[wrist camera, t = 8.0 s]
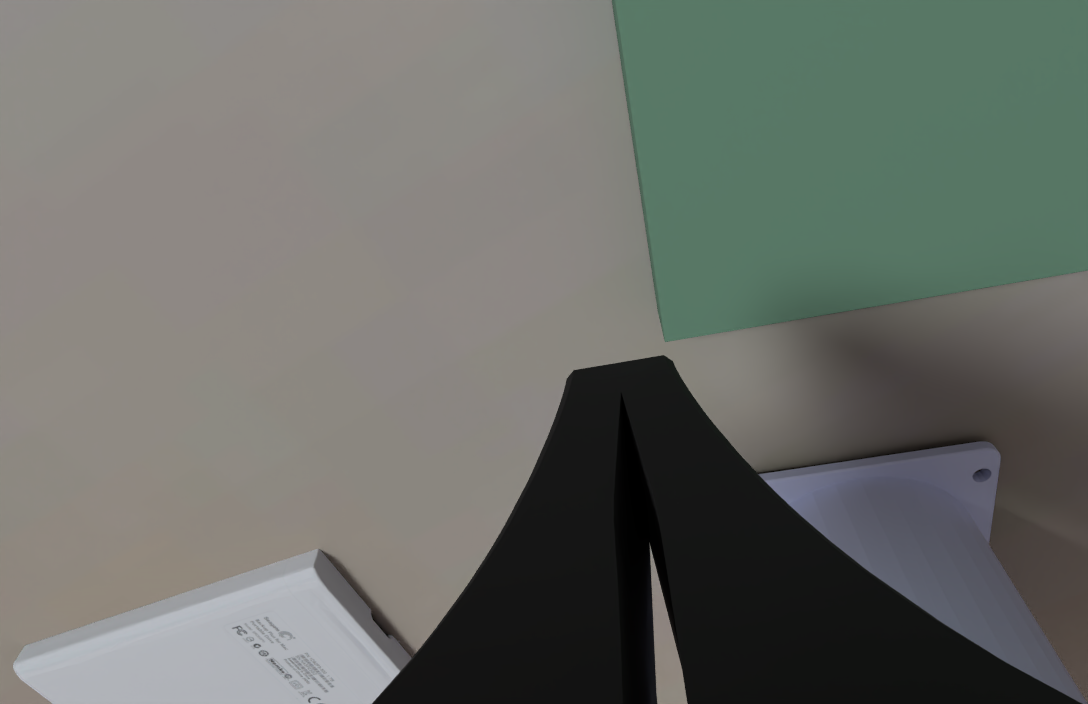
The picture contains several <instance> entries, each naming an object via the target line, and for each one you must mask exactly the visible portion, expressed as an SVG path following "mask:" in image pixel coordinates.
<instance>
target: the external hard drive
mask: <svg viewBox="0 0 1088 704" xmlns="http://www.w3.org/2000/svg"><path fill="white" fill-rule="evenodd" d="M411 659H412V658H411V657H410V655H409V654H408V653H407V652H406V651H405V650H404V648H403V647H402V646H401V645H400V644H399V642H398V641H397V640H396V639H395V638H394V637H393V636H392V635H387V634H385V633H384V632H383V631H382V629H380V627H379V625H377V624H376V623H375V622H374V621H373V619H372V616H371V609H370V608H369V607H368V606H367V605H366V603H365V602H364V601H363V600H362V599H361V597H360V596H359V595H358V594H357V593H356V592H355V590H354V589H353V588H352V587H351V586H350V584H349V583H348V582H347V581H346V580H345V578H344V577H343V576H342V575H341V574H340V573H339V571H338V570H337V569H336V568H335V567H334V565H333V564H332V563H331V562H330V561H329V559H328V558H327V557H326V556H325V555H324V554H323V552H322V551H321V550H320V549H315V550H313V551H310V552H306V553H303V554H300V555H297V556H294V557H291V558H289V559H285V560H282V561H279V562H276V563H273V564H270V565H267V566H264V567H261V568H258V569H254V570H251V571H248V572H245V573H242V574H239V575H236V576H233V577H230V578H227V579H224V580H221V581H218V582H215V583H212V584H209V585H206V586H203V587H200V588H197V589H194V590H191V591H188V592H184V593H181V594H178V595H176V596H173V597H169V598H166V599H163V600H160V601H157V602H154V603H151V604H148V605H145V606H142V607H139V608H136V609H133V610H130V611H127V612H124V613H121V614H118V615H115V616H112V617H109V618H106V619H103V620H100V621H97V622H94V623H91V624H88V625H85V626H82V627H79V628H76V629H73V630H70V631H67V632H64V633H61V634H58V635H55V636H52V637H49V638H46V639H43V640H40V641H37V642H34V643H31V644H27V645H25V646H24V648H23V649H22V651H21V653H20V654H19V656H18V657H17V659H16V660H15V662H14V663H13V669H14V670H15V672H16V674H17V675H18V677H19V678H20V679H21V680H22V681H24V682H25V683H26V684H27V685H29V686H30V687H31V688H33V689H34V690H35V691H37V692H38V693H39V694H41V695H42V696H43V697H44V698H46V699H47V700H49V701H50V702H51V703H53V704H372V703H373V702H374V701H375V700H376V698H377V697H378V696H379V695H380V694H381V693H382V692H383V691H384V689H385V688H386V687H387V686H388V685H389V684H390V683H391V681H392V680H393V679H394V678H395V677H396V676H397V675H398V674H399V672H400V671H401V670H402V669H403V668H404V667H405V666H406V664H407V663H408V662H409V661H410V660H411Z"/></svg>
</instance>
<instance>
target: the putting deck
mask: <svg viewBox="0 0 1088 704" xmlns="http://www.w3.org/2000/svg"><path fill="white" fill-rule="evenodd" d="M612 5H613V12H614V18H615V25H616V32H617V39H618V45H619V52H620V59H621V66H622V72H623V79H624V86H625V93H626V99H627V106H628V113H629V120H630V126H631V133H632V140H633V147H634V153H635V160H636V167H637V174H638V180H639V187H640V194H641V201H642V207H643V214H644V221H645V228H646V234H647V241H648V248H649V255H650V261H651V268H652V275H653V282H654V288H655V295H656V302H657V309H658V314H659V318H660V323H661V327H662V331H663V336H664V340H665V342H668V341H674V340H680V339H686V338H692V337H698V336H704V335H709V334H715V333H721V332H727V331H733V330H739V329H745V328H751V327H757V326H763V325H768V324H774V323H780V322H786V321H792V320H798V319H804V318H810V317H816V316H821V315H827V314H833V313H839V312H845V311H851V310H857V309H863V308H869V307H875V306H880V305H886V304H892V303H898V302H904V301H910V300H916V299H922V298H928V297H934V296H939V295H945V294H951V293H957V292H963V291H969V290H975V289H981V288H987V287H993V286H998V285H1004V284H1010V283H1016V282H1022V281H1028V280H1034V279H1040V278H1046V277H1052V276H1057V275H1063V274H1069V273H1075V272H1081V271H1087V270H1088V0H612Z"/></svg>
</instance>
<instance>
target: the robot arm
mask: <svg viewBox="0 0 1088 704" xmlns="http://www.w3.org/2000/svg"><path fill="white" fill-rule="evenodd" d="M1000 462H1001V456H1000V453H999V452H998V450H997V449H996V447H995V446H994V445H993V444H992V443H989V442H987V441H980V442H973V443H966V444H959V445H953V446H946V447H939V448H932V449H926V450H919V451H912V452H905V453H899V454H892V455H885V456H879V457H872V458H865V459H858V460H852V461H845V462H838V463H831V464H825V465H818V466H811V467H805V468H798V469H791V470H784V471H778V472H771V473H764V474H757V473H756V471H755V470H754V469H753V468H752V467H751V466H750V465H749V464H748V463H747V462H746V461H745V460H744V459H743V458H742V456H741V455H740V454H739V453H738V452H737V451H736V450H735V449H734V447H733V446H732V445H731V444H730V443H729V441H728V440H727V439H726V438H725V437H724V436H723V434H722V433H721V432H720V431H719V430H718V428H717V427H716V426H715V425H714V424H713V422H712V421H711V420H710V419H709V417H708V416H707V415H706V413H705V412H704V411H703V409H702V408H701V407H700V405H699V404H698V403H697V401H696V400H695V398H694V397H693V396H692V394H691V393H690V391H689V390H688V388H687V387H686V385H685V383H684V382H683V380H682V379H681V377H680V375H679V373H678V371H677V370H676V368H675V365H674V363H673V361H671V360H670V359H668V358H667V357H665V356H664V355H662V356H656V357H650V358H644V359H638V360H632V361H627V362H621V363H615V364H609V365H603V366H597V367H591V368H585V369H579V370H574V371H573V372H572V373H571V374H570V376H569V377H568V378H567V381H566V385H565V389H564V393H563V396H562V399H561V402H560V405H559V408H558V411H557V414H556V417H555V419H554V422H553V425H552V427H551V430H550V433H549V435H548V438H547V440H546V442H545V444H544V447H543V449H542V451H541V453H540V456H539V458H538V460H537V463H536V465H535V467H534V469H533V472H532V474H531V476H530V478H529V480H528V482H527V484H526V486H525V488H524V490H523V492H522V494H521V496H520V497H519V499H518V501H517V503H516V505H515V507H514V509H513V511H512V513H511V515H510V516H509V518H508V520H507V522H506V524H505V526H504V528H503V529H502V531H501V533H500V534H499V536H498V538H497V539H496V541H495V543H494V545H493V546H492V548H491V549H490V551H489V553H488V554H487V556H486V558H485V559H484V561H483V562H482V564H481V565H480V567H479V568H478V570H477V571H476V573H475V574H474V576H473V577H472V579H471V580H470V582H469V583H468V585H467V586H466V588H465V589H464V591H463V592H462V593H461V595H460V596H459V598H458V599H457V600H456V602H455V603H454V604H453V606H452V607H451V608H450V610H449V611H448V613H447V614H446V615H445V617H444V618H443V619H442V621H441V622H440V623H439V625H438V626H437V628H436V629H435V630H434V631H433V633H432V634H431V635H430V637H429V638H428V639H427V640H426V642H425V643H424V644H423V645H422V647H421V648H420V649H419V650H418V652H417V653H416V654H415V655H414V656H413V658H412V659H411V660H410V661H409V662H408V663H407V664H406V666H405V667H404V668H403V669H402V670H401V671H400V672H399V674H398V675H397V676H396V677H395V678H394V679H393V680H392V681H391V683H390V684H389V685H388V686H387V687H386V688H385V689H384V691H383V692H382V693H381V694H380V695H379V696H378V697H377V698H376V700H375V701H374V702H373V703H372V704H657V696H656V676H655V654H654V631H653V609H652V587H651V565H650V546H651V550H652V554H653V558H654V561H655V565H656V569H657V573H658V577H659V581H660V585H661V589H662V593H663V596H664V600H665V604H666V608H667V612H668V616H669V620H670V624H671V627H672V631H673V635H674V639H675V643H676V647H677V651H678V655H679V658H680V662H681V666H682V670H683V677H684V683H685V690H686V696H687V702H688V704H1088V703H1087V702H1086V700H1085V699H1084V697H1083V695H1082V694H1081V692H1080V690H1079V689H1078V687H1077V686H1076V684H1075V682H1074V681H1073V679H1072V678H1071V676H1070V674H1069V673H1068V671H1067V670H1066V668H1065V666H1064V665H1063V663H1062V661H1061V660H1060V658H1059V657H1058V655H1057V653H1056V652H1055V650H1054V649H1053V647H1052V645H1051V644H1050V642H1049V641H1048V639H1047V637H1046V636H1045V634H1044V633H1043V631H1042V629H1041V628H1040V626H1039V624H1038V623H1037V621H1036V620H1035V618H1034V616H1033V615H1032V613H1031V612H1030V610H1029V608H1028V607H1027V605H1026V604H1025V602H1024V600H1023V599H1022V597H1021V595H1020V594H1019V592H1018V591H1017V589H1016V587H1015V586H1014V584H1013V583H1012V581H1011V579H1010V578H1009V576H1008V575H1007V573H1006V571H1005V570H1004V568H1003V567H1002V565H1001V563H1000V562H999V560H998V558H997V557H996V555H995V554H994V552H993V550H992V549H991V547H990V546H989V540H990V533H991V526H992V519H993V512H994V505H995V497H996V490H997V483H998V476H999V469H1000ZM980 469H982V470H981V471H979V472H976V471H977V470H980ZM975 472H976V473H975ZM649 542H650V544H649Z"/></svg>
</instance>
